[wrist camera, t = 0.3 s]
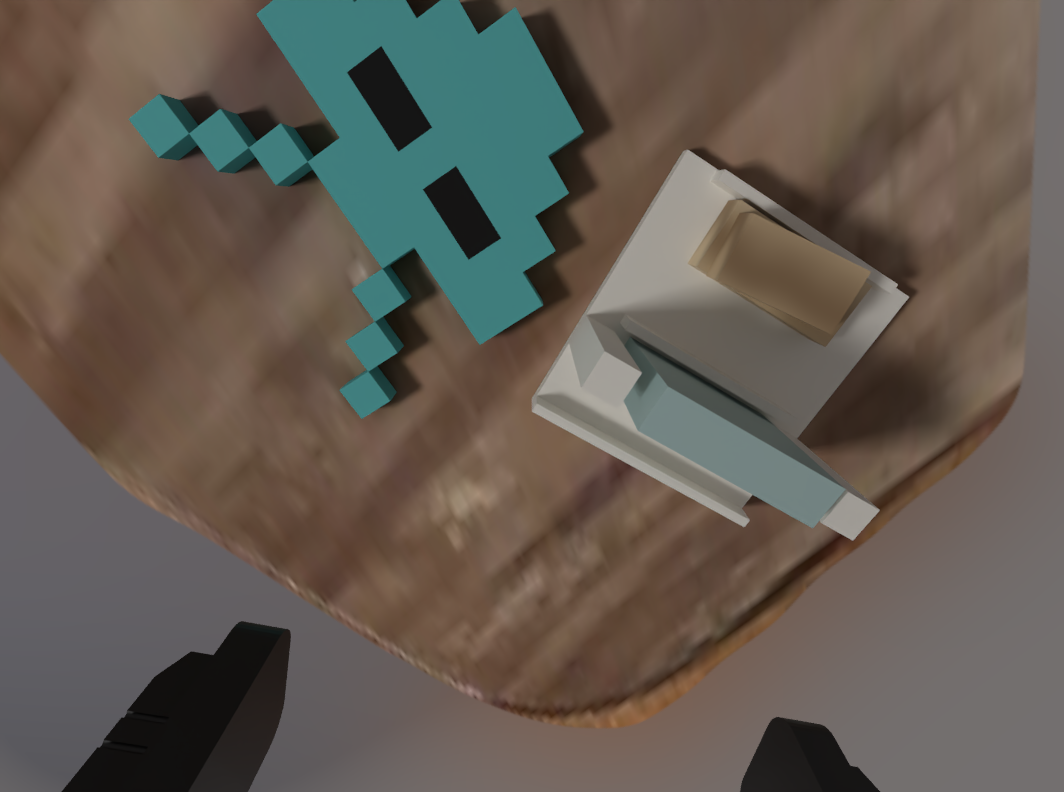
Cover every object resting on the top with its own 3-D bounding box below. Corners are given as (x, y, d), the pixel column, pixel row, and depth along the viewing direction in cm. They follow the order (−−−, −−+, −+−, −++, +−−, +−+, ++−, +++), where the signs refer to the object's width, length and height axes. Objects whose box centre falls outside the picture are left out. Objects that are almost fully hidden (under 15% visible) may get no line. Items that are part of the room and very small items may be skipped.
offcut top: (739, 213, 30) (753, 213, 28) (850, 267, 30) (871, 271, 29) (705, 275, 31) (717, 280, 29) (813, 327, 31) (831, 334, 30)
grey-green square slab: (630, 336, 34) (668, 386, 24) (761, 414, 35) (846, 489, 26) (608, 369, 34) (637, 430, 25) (739, 444, 36) (812, 528, 26)
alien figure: (371, 406, 37) (636, 239, 33) (361, 418, 35) (643, 242, 31) (155, 125, 31) (445, -110, 28) (128, 119, 29) (437, -136, 26)
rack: (683, 151, 31) (748, 126, 22) (898, 294, 34) (1041, 327, 24) (532, 398, 36) (531, 465, 27) (731, 507, 39) (796, 604, 29)
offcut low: (728, 200, 31) (741, 199, 29) (852, 281, 33) (872, 286, 31) (687, 263, 32) (696, 266, 30) (809, 339, 34) (825, 347, 32)
